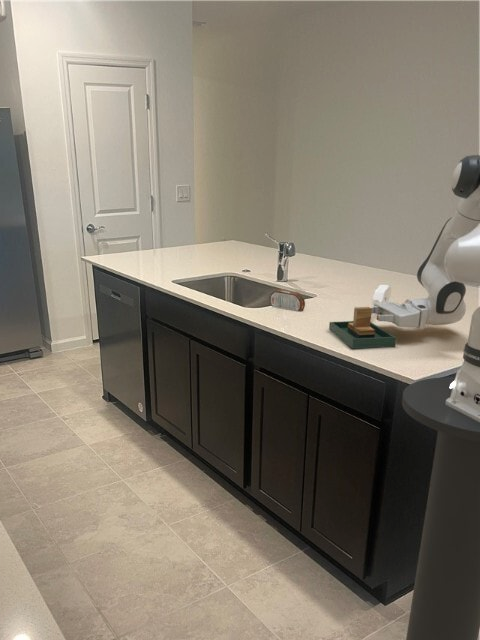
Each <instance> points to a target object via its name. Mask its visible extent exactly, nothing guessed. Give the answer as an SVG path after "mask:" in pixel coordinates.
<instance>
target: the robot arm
mask: <svg viewBox="0 0 480 640" xmlns="http://www.w3.org/2000/svg"><path fill="white" fill-rule="evenodd" d="M451 191H452V193H453V194H454V195H455V196H456V197H458V198H460V199H459V201H458V203H457V206H456V208H455V211H454V213H453V215H452V216H451V217H449V219H448V220H447V221H446V222H445V223H444V225H443V226H442V228H441V230H440V232H439V234H438V235H437V238H436V240H435V242H434V244H433V246H432V247H431V250H430V252H429V254H428V256H427V257H426V258H425V260H424V261H423V262H422V264H421V265H420V266H419V268H418V270H417V272H416V279H417V281H418V282H419V284H420V285H421V286H422V288H424V289H425V290H426V292H427V293H428V296H427V297H426V298H408V299H406V300H404V302H403V303H398V302H396V301H389V302H376V303H374V307H372V306H371V307H370V308H372V311H371V314H372V313H375V314H376V320H377V321H378V322H386V323H392V324H394V325H395V326H397V327H400V328H415V329H418V330H425V329H426V326H428V325H431V326H446V325H452V324H455V323H457V322H460V321H461V320H462V319H463V318H464V317H465V314H466V311H467V306H466V303H465V300H464V298H465V296H466V292H467V288H466V285H469V286H472V287H473V286H474V287H480V154H471V155H466V156H465V157H462V159H460V160H459V162H458V164H457V165H456V167H455V168H454V170H453V172H452V176H451ZM462 353H463V354H462V359H463V361H462V363H461V366H460V367H459V369H458V370H457V371H456V374H455V376H454V377H455V381H454V382H453V383H452V384H451V385H450V388H452V387H453V389H452V392H451V396H450V398H448V399H447V400H446V402H445V405H447V406H449V407H451V408H453V409H455V410H457V411H459V412H460V413H462V414H464V415H466V416H468V417H470V418H472V419H474V420H476V421H478V422H480V306H478V307H477V308H475V310H474V311H473V313H472V314H471V319H470V324H469V332H468V336H467V342H466V343H465V345H464V348H463V352H462Z"/></svg>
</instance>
